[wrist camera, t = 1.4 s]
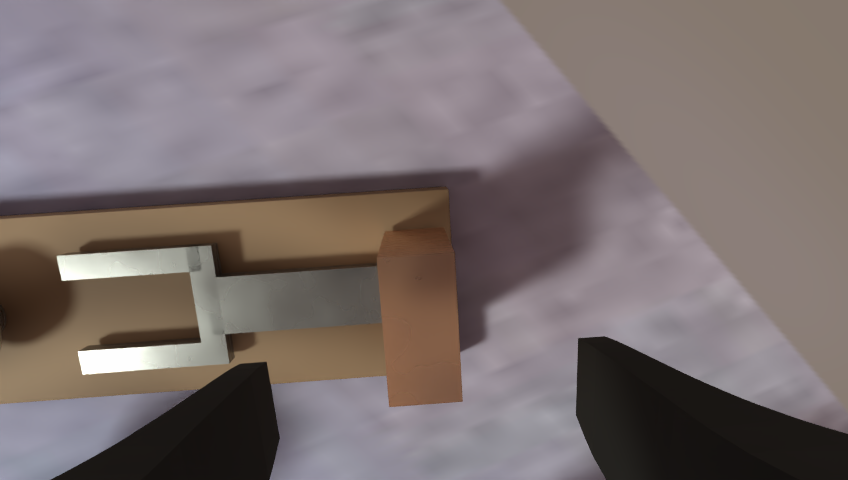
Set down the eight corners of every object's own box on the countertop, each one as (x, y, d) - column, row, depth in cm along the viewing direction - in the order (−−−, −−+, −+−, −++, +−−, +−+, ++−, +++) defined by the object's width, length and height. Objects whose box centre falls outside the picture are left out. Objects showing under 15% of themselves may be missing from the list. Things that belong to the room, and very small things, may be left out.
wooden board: (455, 355, 22) (457, 370, 20) (-16, 389, 22) (-47, 407, 20) (445, 186, 20) (448, 189, 19) (-62, 220, 20) (-99, 225, 18)
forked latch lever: (457, 341, 20) (471, 400, 15) (92, 367, 20) (-8, 436, 15) (450, 226, 19) (464, 252, 14) (67, 252, 19) (-49, 287, 14)
